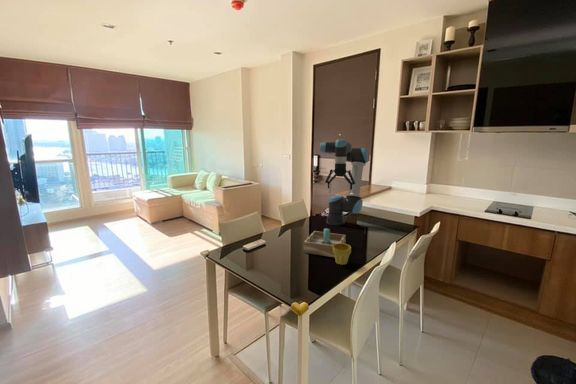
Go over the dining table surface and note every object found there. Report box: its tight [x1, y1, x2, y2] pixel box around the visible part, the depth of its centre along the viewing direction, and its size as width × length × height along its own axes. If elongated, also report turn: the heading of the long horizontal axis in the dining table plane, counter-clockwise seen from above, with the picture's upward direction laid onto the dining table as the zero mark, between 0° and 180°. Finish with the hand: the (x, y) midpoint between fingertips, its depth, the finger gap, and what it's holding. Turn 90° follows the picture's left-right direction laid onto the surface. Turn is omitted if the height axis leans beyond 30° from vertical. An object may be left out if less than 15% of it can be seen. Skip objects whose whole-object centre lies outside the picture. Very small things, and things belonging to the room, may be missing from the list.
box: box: [303, 230, 347, 258], centre depth 178 cm, size 22×22×7 cm
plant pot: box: [333, 243, 352, 266], centre depth 158 cm, size 10×10×10 cm
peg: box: [323, 228, 331, 245], centre depth 181 cm, size 4×4×12 cm
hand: (339, 193), depth 190 cm, fingers open, 13 cm apart
